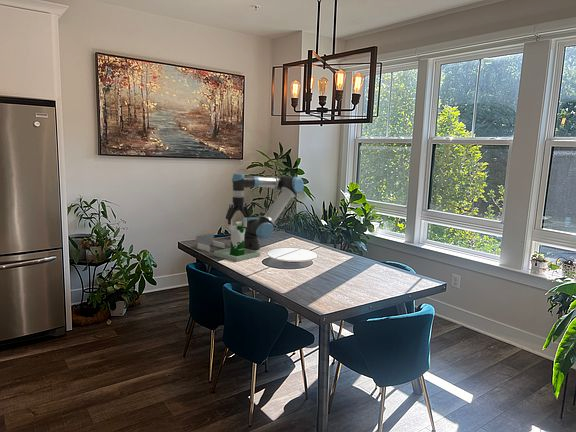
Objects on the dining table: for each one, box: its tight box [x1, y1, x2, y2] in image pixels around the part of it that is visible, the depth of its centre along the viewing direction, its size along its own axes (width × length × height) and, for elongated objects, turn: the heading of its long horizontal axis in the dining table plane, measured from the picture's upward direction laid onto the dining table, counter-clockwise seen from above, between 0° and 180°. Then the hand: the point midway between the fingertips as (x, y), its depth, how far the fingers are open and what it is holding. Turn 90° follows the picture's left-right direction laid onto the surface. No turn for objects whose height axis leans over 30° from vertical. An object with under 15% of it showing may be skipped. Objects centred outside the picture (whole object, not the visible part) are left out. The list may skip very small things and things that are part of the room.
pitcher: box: [232, 220, 242, 228], centre depth 343 cm, size 11×18×14 cm, turn 128°
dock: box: [195, 233, 226, 252], centre depth 306 cm, size 14×15×9 cm
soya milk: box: [229, 226, 246, 256], centre depth 285 cm, size 9×9×20 cm
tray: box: [213, 247, 261, 263], centre depth 286 cm, size 22×22×3 cm
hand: (237, 228), depth 284 cm, fingers open, 13 cm apart
